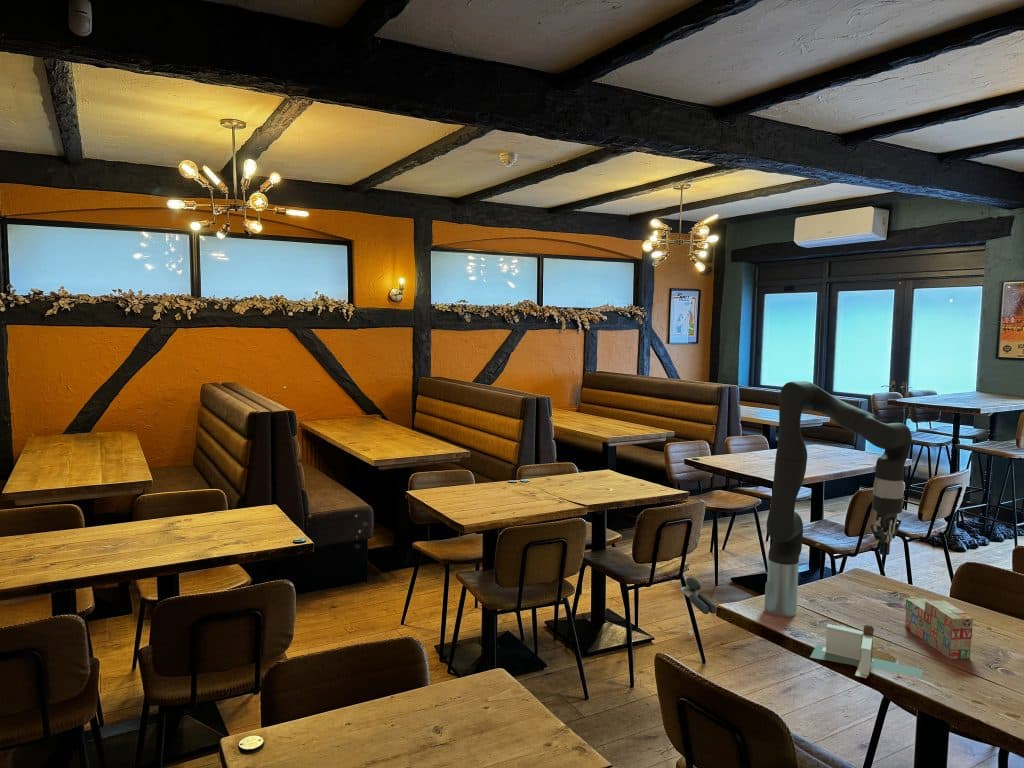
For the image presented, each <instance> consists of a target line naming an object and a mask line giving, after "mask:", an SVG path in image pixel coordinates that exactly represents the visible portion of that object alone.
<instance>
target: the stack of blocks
mask: <svg viewBox="0 0 1024 768" xmlns="http://www.w3.org/2000/svg"><path fill="white" fill-rule="evenodd" d="M905 600H906V601H905V623H904V627H905V628H906V629H907V628H908V629H907V630H908V631H910V632H911V633H912V634H916V635H915V636H917V637H918V638H919V639H921V640H923V641H924V642H925V643H927V644H928V645H929V646H931V647H932V648H933V649H935V650H936V651H938V652H939V653H941V654H942V655H943V656H944V657H946V658H947V659H949V660H951V659H954V660H955V659H971V650H972V649H971V647H972V646H971V645H972V640H973V639H972V638H973V625H974V618H973V617H972V616H971V615H968V614H967V613H966V612H965V611H963V610H962V609H960V608H958V607H957V606H955V605H953V604H951V603H950V602H948V601H946V600H929V599H927V598H906V599H905Z"/></svg>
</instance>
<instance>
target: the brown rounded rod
mask: <svg viewBox="0 0 1024 768" xmlns="http://www.w3.org/2000/svg"><path fill="white" fill-rule="evenodd" d="M862 631H863V635H868V636H873V637H874V631H875V629H874V627H873V626H872V625H871V624H865V625H864V626H863V630H862ZM873 644H874V639H873V640H872V647H871V661H872V658H873Z"/></svg>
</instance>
